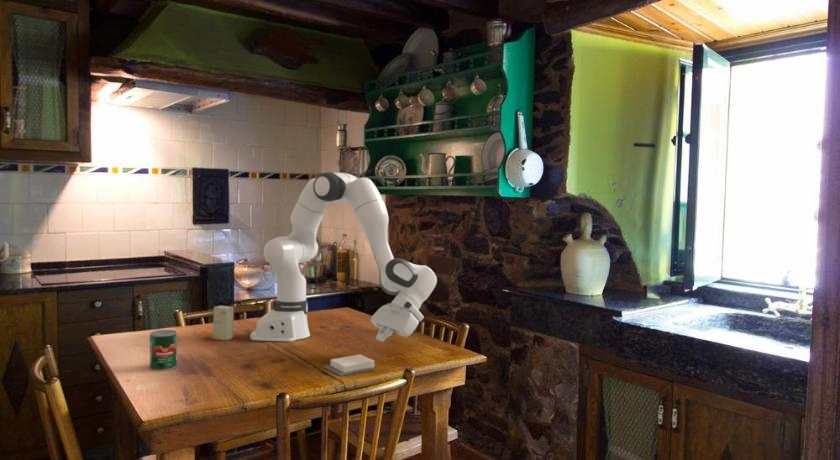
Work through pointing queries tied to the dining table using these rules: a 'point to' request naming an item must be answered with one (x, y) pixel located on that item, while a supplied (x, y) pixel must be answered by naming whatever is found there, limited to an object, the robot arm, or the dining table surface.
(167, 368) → the canned tomato
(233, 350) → the dining table surface
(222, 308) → the skincare box
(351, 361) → the tile
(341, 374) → the mat
